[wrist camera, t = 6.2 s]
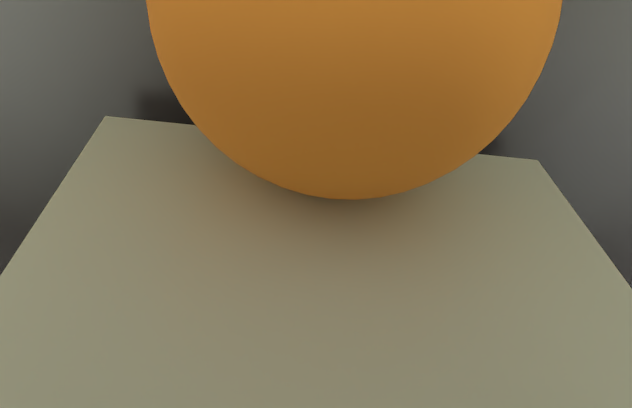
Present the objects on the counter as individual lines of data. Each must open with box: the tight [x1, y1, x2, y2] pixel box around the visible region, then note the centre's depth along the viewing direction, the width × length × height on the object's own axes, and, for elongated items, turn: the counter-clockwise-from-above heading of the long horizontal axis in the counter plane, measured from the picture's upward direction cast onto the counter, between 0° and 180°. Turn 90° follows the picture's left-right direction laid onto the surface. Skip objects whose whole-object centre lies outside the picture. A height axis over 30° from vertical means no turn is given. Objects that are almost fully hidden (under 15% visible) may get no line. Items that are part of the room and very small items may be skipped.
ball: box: [146, 0, 563, 200], centre depth 7 cm, size 5×5×5 cm
